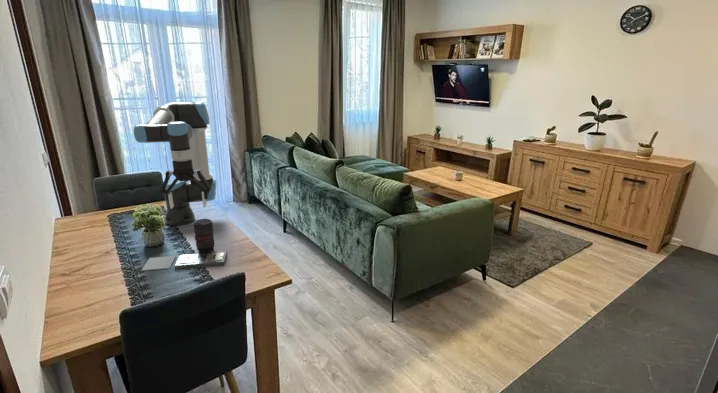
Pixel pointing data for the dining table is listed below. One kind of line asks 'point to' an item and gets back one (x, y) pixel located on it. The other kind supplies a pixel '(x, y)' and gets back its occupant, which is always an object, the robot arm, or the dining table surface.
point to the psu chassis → (201, 260)
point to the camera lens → (204, 235)
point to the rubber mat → (159, 263)
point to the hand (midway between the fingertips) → (188, 206)
